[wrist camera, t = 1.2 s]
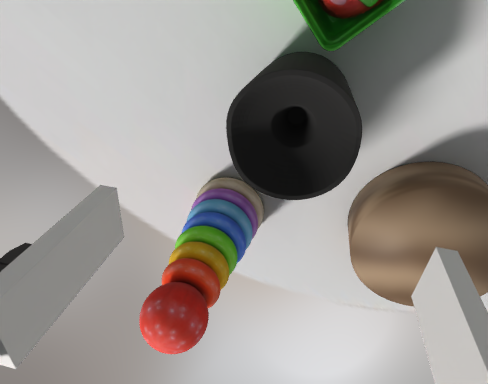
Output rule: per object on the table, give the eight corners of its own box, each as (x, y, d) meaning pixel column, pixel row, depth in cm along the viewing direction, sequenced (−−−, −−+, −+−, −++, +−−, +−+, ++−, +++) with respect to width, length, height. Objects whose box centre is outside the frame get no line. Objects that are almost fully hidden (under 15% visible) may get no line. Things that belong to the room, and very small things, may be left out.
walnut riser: (366, 151, 32) (372, 175, 28) (525, 174, 30) (557, 204, 26) (335, 258, 40) (336, 290, 35) (462, 283, 38) (478, 320, 33)
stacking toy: (275, 190, 37) (235, 340, 21) (252, 241, 41) (205, 397, 25) (207, 164, 37) (118, 293, 21) (192, 217, 41) (108, 358, 25)
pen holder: (231, 106, 33) (199, 146, 24) (295, 21, 28) (281, 35, 20) (304, 164, 34) (296, 221, 26) (376, 94, 30) (395, 135, 21)
